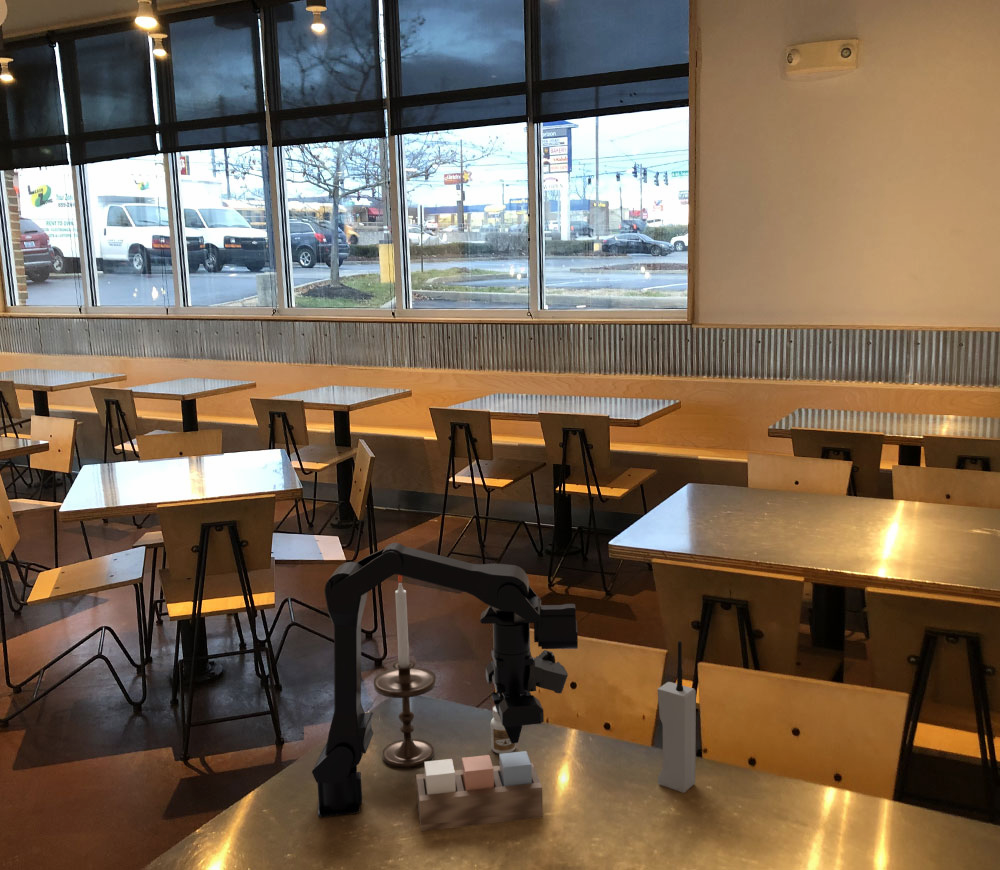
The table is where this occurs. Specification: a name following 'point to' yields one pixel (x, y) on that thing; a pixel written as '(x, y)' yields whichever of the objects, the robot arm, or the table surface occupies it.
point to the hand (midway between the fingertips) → (514, 742)
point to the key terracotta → (477, 772)
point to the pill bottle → (500, 736)
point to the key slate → (515, 768)
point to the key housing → (478, 803)
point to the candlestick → (405, 694)
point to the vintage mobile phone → (678, 732)
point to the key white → (439, 776)
